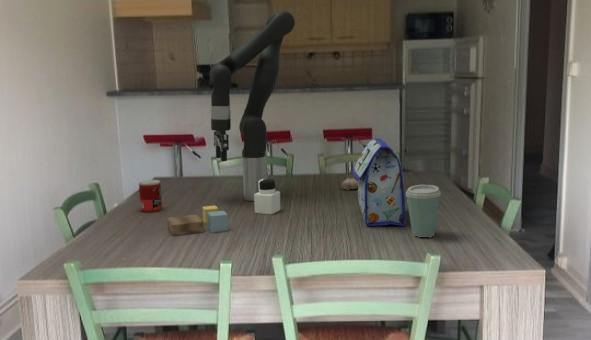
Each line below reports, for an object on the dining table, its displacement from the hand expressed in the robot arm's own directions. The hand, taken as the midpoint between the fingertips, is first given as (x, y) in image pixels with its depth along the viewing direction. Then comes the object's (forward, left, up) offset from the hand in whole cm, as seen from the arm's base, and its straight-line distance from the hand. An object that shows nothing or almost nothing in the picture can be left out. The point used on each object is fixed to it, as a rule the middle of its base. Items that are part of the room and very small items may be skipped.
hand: (221, 159), depth 220 cm
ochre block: (+11, +26, -17) cm, 33 cm away
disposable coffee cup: (-45, +71, -17) cm, 86 cm away
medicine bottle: (-11, +22, -17) cm, 30 cm away
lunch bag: (-43, +48, -17) cm, 67 cm away
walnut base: (+21, +33, -17) cm, 42 cm away
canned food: (+28, 0, -17) cm, 33 cm away
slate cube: (+11, +37, -17) cm, 42 cm away
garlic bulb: (-55, +1, -18) cm, 58 cm away
